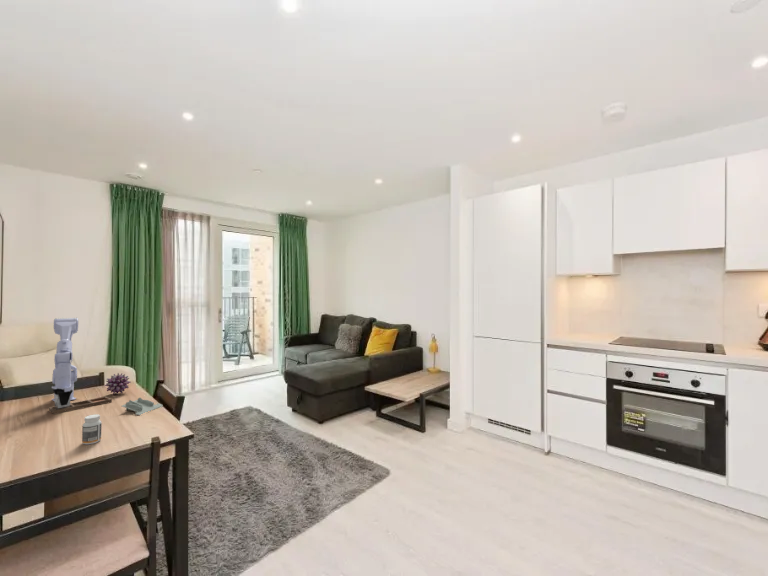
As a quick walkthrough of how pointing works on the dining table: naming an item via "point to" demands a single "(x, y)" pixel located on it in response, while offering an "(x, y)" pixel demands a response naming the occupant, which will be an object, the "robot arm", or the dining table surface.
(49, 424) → the dining table surface
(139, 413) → the metal bracket
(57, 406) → the square peg
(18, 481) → the dining table surface
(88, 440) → the pill bottle
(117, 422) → the dining table surface
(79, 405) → the rail
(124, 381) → the spiky ball
